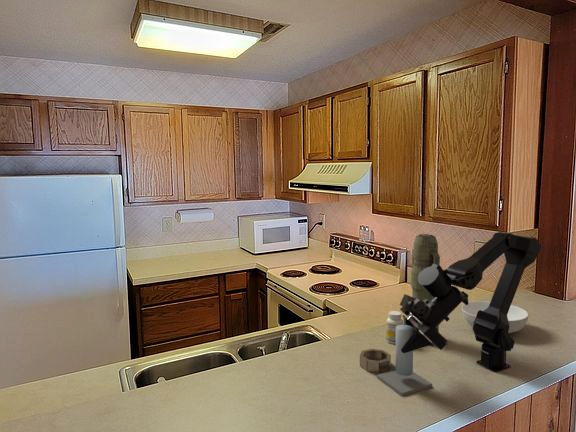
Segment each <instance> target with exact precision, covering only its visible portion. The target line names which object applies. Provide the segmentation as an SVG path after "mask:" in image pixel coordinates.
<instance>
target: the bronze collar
mask: <svg viewBox="0 0 576 432" xmlns="http://www.w3.org/2000/svg"><path fill="white" fill-rule="evenodd" d="M391 365H392V355H391V354H390V353H389V352H387V351H385V350H383V349H376V348H369V349H365V350H361V351H360V354H359V367H361V368H362V369H363V370H364V371H366V372H370V373H377V374H382V373H386V372H390V371H391V370H390V369H391Z"/></svg>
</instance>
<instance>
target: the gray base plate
mask: <svg viewBox="0 0 576 432" xmlns="http://www.w3.org/2000/svg"><path fill="white" fill-rule="evenodd" d="M376 379H377V380H379V381H380V382H382V383H383V384H384V385H385V386H386V387H388V388H389V389H391V390H393V391H394V392H396V394H398V395H399V396H401V397H404V396H406V395H409V394H413V393H417V392H419V391H423V390H426V389H429V388H432V387H433V383H431V382H430V381H429V380H427V379H425V378H424V377H422V376H421V375H419V374H417V373H415V372H414V371H413V374H412V375H410V376H402V375H399V374H397V373H396V369H395V370H389V371H385V372H382V373H378V374H376Z"/></svg>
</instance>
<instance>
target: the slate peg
mask: <svg viewBox="0 0 576 432" xmlns="http://www.w3.org/2000/svg"><path fill="white" fill-rule="evenodd" d="M412 335H413V327H411V326H408V325H404V324H403V325H397V326H396V344H395V370H396V373H397V374H399V375H402V376H410V375H412V374H413V372H414V350H413V351H410V352H407V353H403V352H402V351H401V349H402V348H403V346H404V345H405V344H406V342H407V341H408V340H409V339H410V337H411V336H412Z"/></svg>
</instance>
